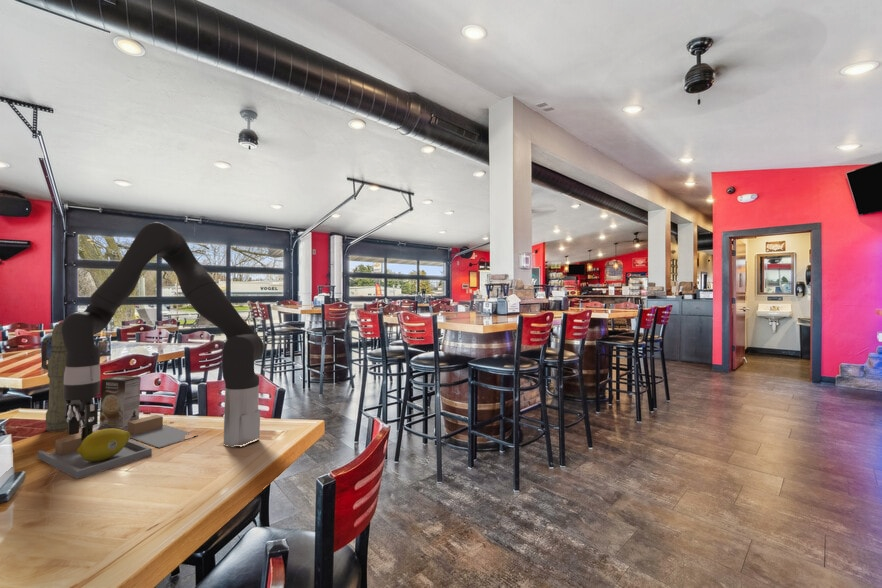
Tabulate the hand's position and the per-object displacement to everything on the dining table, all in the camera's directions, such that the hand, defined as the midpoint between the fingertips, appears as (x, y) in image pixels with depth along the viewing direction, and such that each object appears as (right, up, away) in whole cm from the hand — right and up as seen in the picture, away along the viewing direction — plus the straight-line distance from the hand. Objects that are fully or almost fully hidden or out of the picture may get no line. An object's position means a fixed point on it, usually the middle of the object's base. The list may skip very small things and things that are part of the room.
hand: (79, 437), depth 104 cm
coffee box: (-7, -4, +21) cm, 22 cm away
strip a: (+14, -4, +11) cm, 19 cm away
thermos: (-22, -4, +17) cm, 28 cm away
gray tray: (+9, -4, -4) cm, 10 cm away
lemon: (+13, -4, -7) cm, 15 cm away
